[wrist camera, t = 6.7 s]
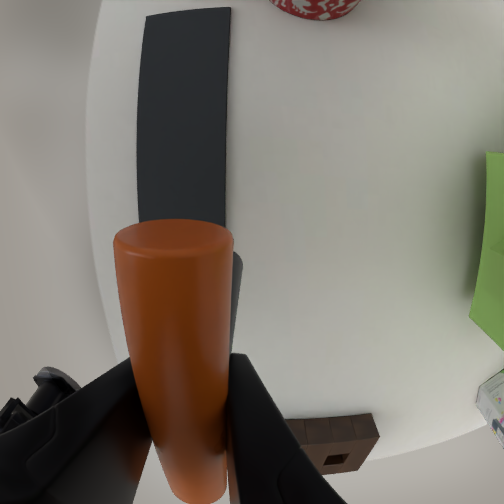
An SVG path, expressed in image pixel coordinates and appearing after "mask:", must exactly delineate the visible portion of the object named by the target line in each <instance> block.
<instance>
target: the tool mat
mask: <svg viewBox="0 0 504 504" xmlns="http://www.w3.org/2000/svg"><path fill="white" fill-rule="evenodd" d="M230 17H231V7H220V8H204V9H193V10H184V11H176V12H169V13H162V14H156V15H150V16H146V22H145V29H144V36H143V44H142V53H141V63H140V74H139V88H138V107H137V191H138V211H139V223H141V222H146V221H152V220H161V219H190V220H199V221H205V222H210V223H214V224H217V225H220V226H222V227H224V228H225V175H226V119H227V85H228V58H229V36H230Z"/></svg>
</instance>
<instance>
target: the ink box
mask: <svg viewBox="0 0 504 504" xmlns="http://www.w3.org/2000/svg"><path fill="white" fill-rule="evenodd" d="M476 406H477V407H478V409H479V411H480V412H481V413H482V415H483V417H484V418H485V420H486V421H487V423H488V424H489V426H490V427H491V429H492V430H493V432H494V434H495V435H496V437H497V439H498V440H499V442H500V444H501V445H502V447H503V449H504V370H502V371H501V372H500V373H498V374H497V375H495V376H494V377H493V378H491V379H490V380H488V381H487V382H485V383H484V384H482V385H481V386H480V387H479V393H478V398H477V403H476Z"/></svg>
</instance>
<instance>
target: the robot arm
mask: <svg viewBox="0 0 504 504" xmlns="http://www.w3.org/2000/svg"><path fill="white" fill-rule="evenodd" d="M33 379H34V381H35V382H36V384H37V385H38V389H37V390H36V392H35V393H34V394H33V396H32V397H31V399H30V400H29V401H28V403H27V404H26V405H25V404H23V403H22V402H21V400H20V399H19V398H17V399H13V398H10V400H9V401H8V402H7V404H6V405H5V406H4V407H3V409H2V410H1V411H0V504H133V500H134V497H135V494H136V490H137V487H138V484H139V481H140V478H141V474H142V471H143V468H144V465H145V462H146V459H147V456H148V453H149V449H150V446H151V443H152V437H151V434H150V431H149V428H148V424H147V421H146V418H145V415H144V411H143V408H142V404H141V401H140V397H139V393H138V389H137V385H136V381H135V377H134V373H133V369H132V365H131V360H130V357H129V358H127V359H126V360H124V361H123V362H121V363H120V364H118V365H117V366H115V367H114V368H112V369H110V370H109V371H107V372H106V373H104V374H103V375H101V376H100V377H98V378H97V379H95V380H94V381H92V382H90V383H89V384H87V385H86V386H84V387H83V388H81V389H80V390H78V391H76V392H75V393H74V392H73V390H72V389H71V388H70V386H69V385H68V383H67V382H66V380H65V379H64V378H63V377H61V376H34V377H33ZM226 459H227V471H228V484H229V495H230V504H347V503H346V502H345V501H344V500H343V499H342V498H341V497H340V496H339V495H338V494H337V492H336V491H335V490H334V489H333V488H332V487H331V486H330V485H329V483H328V482H327V481H326V480H325V479H324V478H323V476H322V475H321V474H320V472H319V471H318V469H317V468H316V467H315V465H314V464H313V463H312V461H311V460H310V458H309V457H308V455H307V454H306V452H305V451H304V449H303V448H301V445H300V443H299V441H298V440H297V438H296V437H295V435H294V434H293V432H292V430H291V429H290V427H289V426H288V424H287V422H286V421H285V419H284V418H283V416H282V414H281V413H280V411H279V409H278V408H277V406H276V404H275V403H274V401H273V400H272V398H271V396H270V394H269V393H268V391H267V389H266V388H265V386H264V384H263V383H262V381H261V379H260V378H259V376H258V374H257V372H256V371H255V369H254V367H253V365H252V364H251V362H250V360H249V358H248V357H247V355H246V354H239V353H231V354H230V356H229V375H228V395H227V400H226Z"/></svg>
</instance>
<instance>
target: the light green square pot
mask: <svg viewBox="0 0 504 504" xmlns="http://www.w3.org/2000/svg"><path fill="white" fill-rule="evenodd" d="M486 175H487V179H486V211H485V224H484V235H483V243H482V251H481V258H480V265H479V271H478V277H477V282H476V287H475V292H474V296H473V301H472V305H471V309H470V313H469V317H470V318H471V319H472V320H473V321H474V322H475V323H476V324H477V325H478V326H479V327H480V328H481V329H482V330H483V331H484V332H485V333H486V334H487V335H488V336H489V337H490V338H491V339H492V340H493V341H494V342H495V343H496V344H497V345H498V346H499V347H500V348H501V349H502V350H503V351H504V153H497V152H486Z"/></svg>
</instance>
